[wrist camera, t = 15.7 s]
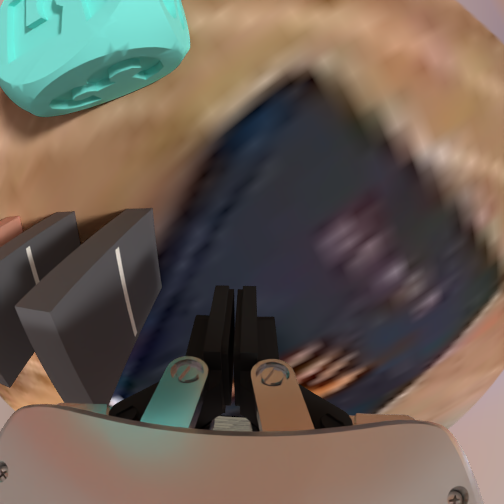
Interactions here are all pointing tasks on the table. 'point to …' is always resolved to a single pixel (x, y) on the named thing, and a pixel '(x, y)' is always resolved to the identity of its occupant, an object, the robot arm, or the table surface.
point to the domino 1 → (10, 229)
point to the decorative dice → (86, 50)
